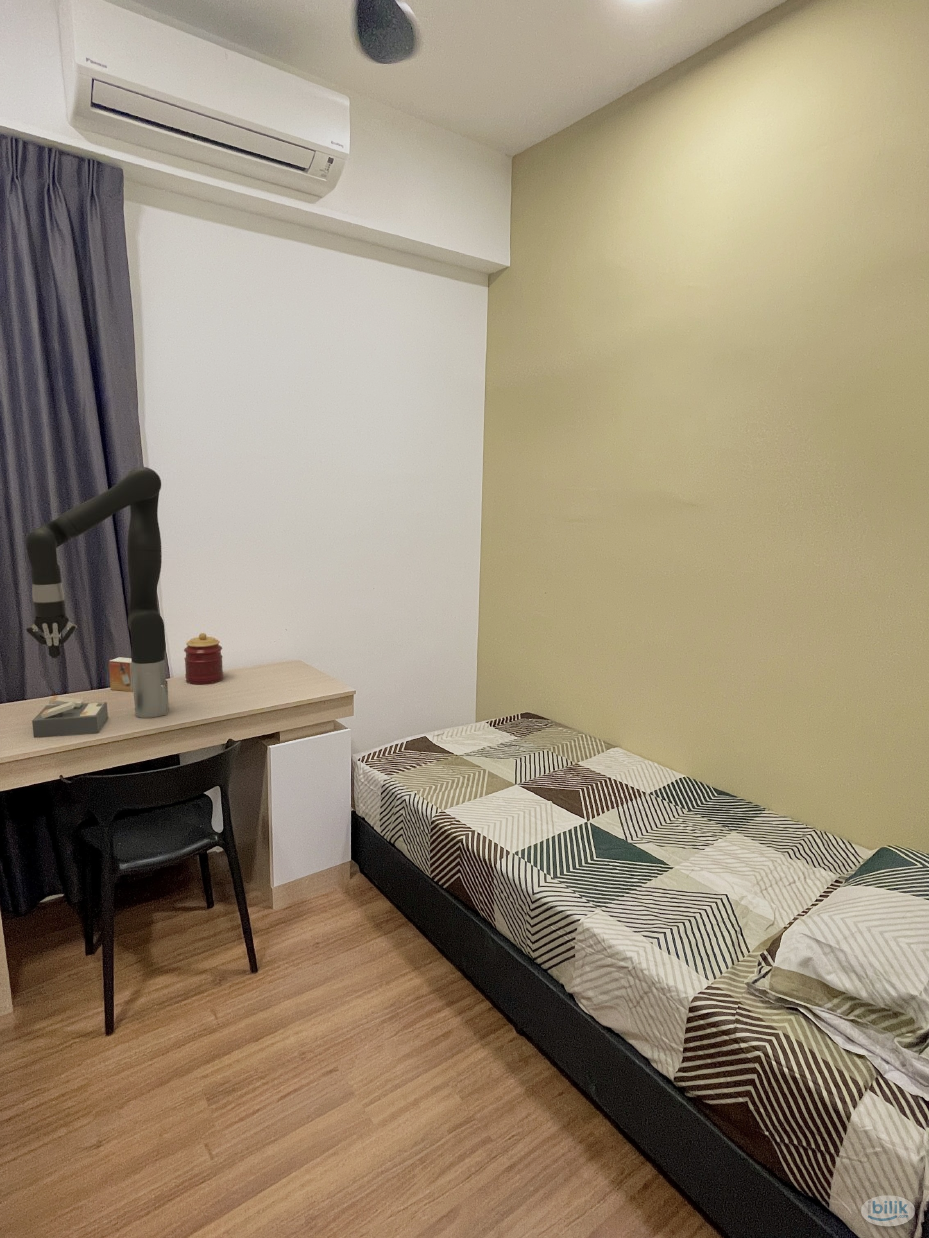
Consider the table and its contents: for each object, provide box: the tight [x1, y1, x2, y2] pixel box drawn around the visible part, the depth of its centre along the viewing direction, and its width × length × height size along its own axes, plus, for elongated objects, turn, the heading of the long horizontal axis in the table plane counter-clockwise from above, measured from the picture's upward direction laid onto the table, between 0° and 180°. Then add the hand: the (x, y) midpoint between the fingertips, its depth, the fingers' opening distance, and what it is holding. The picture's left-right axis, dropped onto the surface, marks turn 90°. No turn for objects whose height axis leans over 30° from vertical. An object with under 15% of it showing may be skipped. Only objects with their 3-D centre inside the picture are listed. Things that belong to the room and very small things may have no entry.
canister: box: [183, 632, 224, 685], centre depth 237 cm, size 13×13×18 cm
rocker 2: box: [41, 701, 76, 718], centre depth 184 cm, size 8×4×1 cm, turn 107°
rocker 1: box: [48, 695, 84, 707], centre depth 191 cm, size 8×4×1 cm, turn 108°
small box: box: [108, 656, 134, 693], centre depth 224 cm, size 8×6×10 cm
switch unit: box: [31, 701, 109, 739], centre depth 189 cm, size 16×13×6 cm
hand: (55, 657), depth 188 cm, fingers closed
